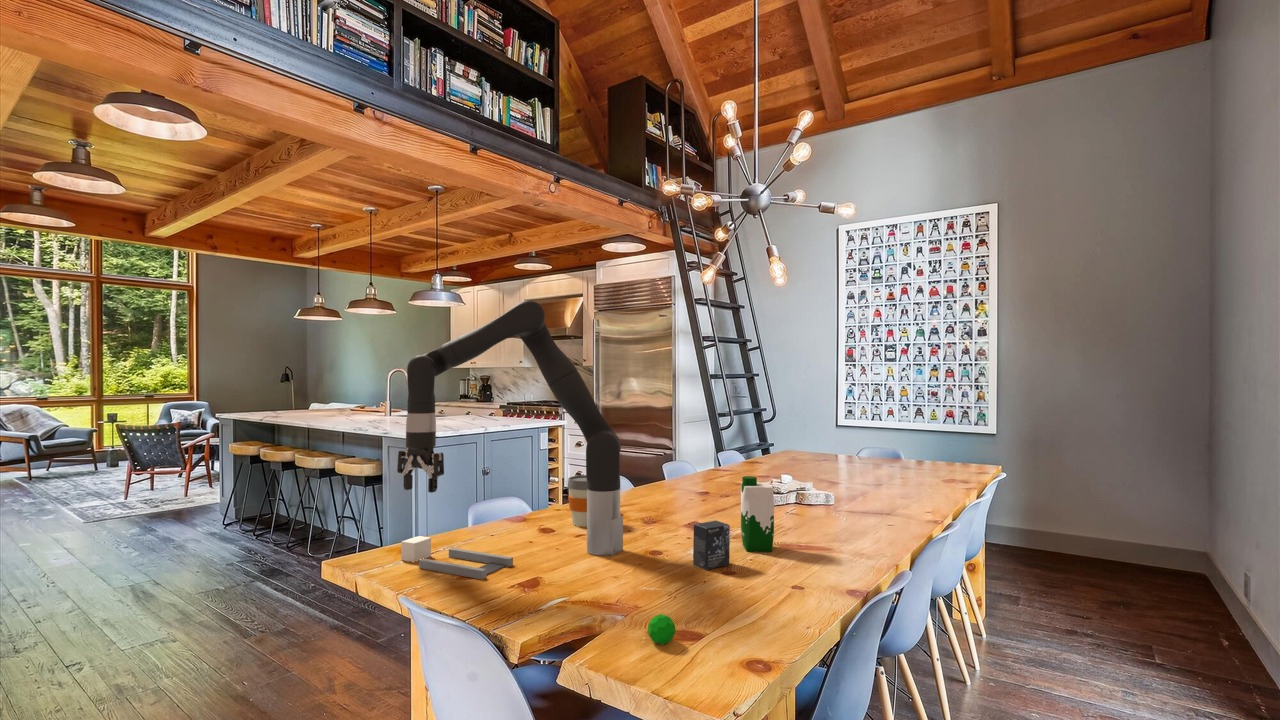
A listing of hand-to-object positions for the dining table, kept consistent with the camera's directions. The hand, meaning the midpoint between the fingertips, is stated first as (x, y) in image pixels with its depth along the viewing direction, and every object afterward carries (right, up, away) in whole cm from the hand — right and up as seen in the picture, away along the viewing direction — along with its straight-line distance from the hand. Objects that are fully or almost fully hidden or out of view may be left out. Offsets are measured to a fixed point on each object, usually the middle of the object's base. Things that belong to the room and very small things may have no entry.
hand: (420, 490), depth 160 cm
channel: (+15, -18, -7) cm, 24 cm away
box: (+77, -18, -6) cm, 79 cm away
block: (-1, -18, 0) cm, 18 cm away
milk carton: (+92, -19, +9) cm, 94 cm away
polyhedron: (+63, -17, -51) cm, 82 cm away
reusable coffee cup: (+41, -19, +38) cm, 59 cm away
